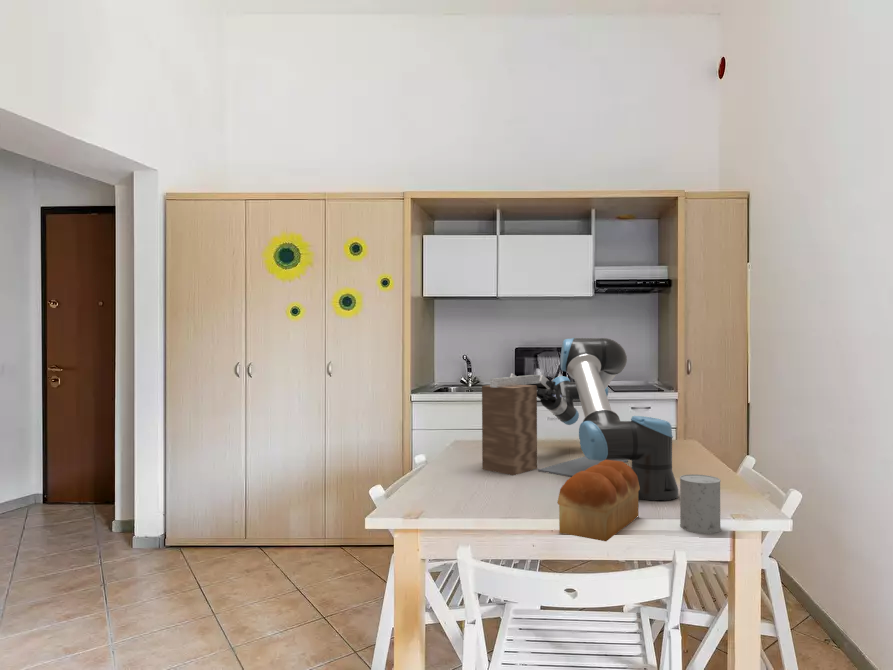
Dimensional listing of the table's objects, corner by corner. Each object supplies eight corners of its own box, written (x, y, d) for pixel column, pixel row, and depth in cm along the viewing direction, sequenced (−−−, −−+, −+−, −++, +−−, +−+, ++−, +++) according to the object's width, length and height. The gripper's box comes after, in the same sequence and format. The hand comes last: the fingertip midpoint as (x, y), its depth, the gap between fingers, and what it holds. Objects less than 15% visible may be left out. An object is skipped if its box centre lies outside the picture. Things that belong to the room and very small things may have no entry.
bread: (606, 543, 148) (606, 479, 148) (557, 533, 156) (557, 473, 155) (640, 517, 169) (639, 461, 169) (595, 509, 176) (595, 456, 176)
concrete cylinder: (682, 532, 156) (682, 482, 156) (677, 520, 165) (677, 473, 165) (724, 534, 153) (723, 484, 153) (717, 523, 163) (716, 475, 163)
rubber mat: (590, 456, 251) (590, 454, 251) (627, 461, 240) (627, 460, 240) (538, 471, 225) (538, 469, 225) (577, 478, 214) (577, 476, 214)
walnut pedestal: (506, 463, 238) (505, 383, 238) (537, 468, 228) (536, 385, 228) (482, 469, 228) (482, 386, 228) (513, 475, 218) (513, 388, 218)
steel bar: (533, 382, 242) (533, 374, 242) (539, 383, 239) (539, 375, 239) (490, 387, 222) (490, 378, 222) (497, 387, 220) (497, 379, 220)
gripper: (578, 413, 239) (551, 388, 226) (524, 408, 256) (496, 384, 243) (583, 395, 242) (556, 369, 228) (530, 391, 259) (502, 367, 245)
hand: (525, 377), depth 236 cm, fingers open, 13 cm apart
